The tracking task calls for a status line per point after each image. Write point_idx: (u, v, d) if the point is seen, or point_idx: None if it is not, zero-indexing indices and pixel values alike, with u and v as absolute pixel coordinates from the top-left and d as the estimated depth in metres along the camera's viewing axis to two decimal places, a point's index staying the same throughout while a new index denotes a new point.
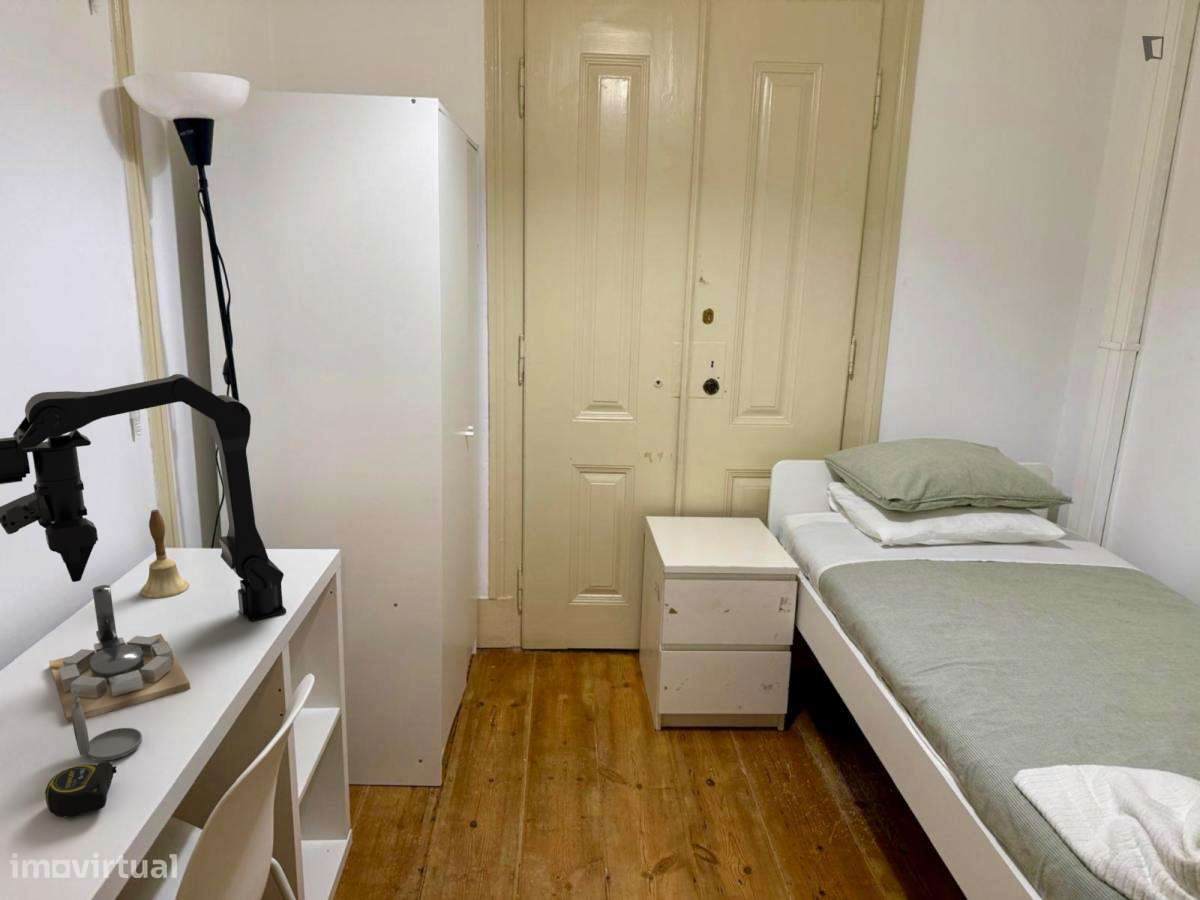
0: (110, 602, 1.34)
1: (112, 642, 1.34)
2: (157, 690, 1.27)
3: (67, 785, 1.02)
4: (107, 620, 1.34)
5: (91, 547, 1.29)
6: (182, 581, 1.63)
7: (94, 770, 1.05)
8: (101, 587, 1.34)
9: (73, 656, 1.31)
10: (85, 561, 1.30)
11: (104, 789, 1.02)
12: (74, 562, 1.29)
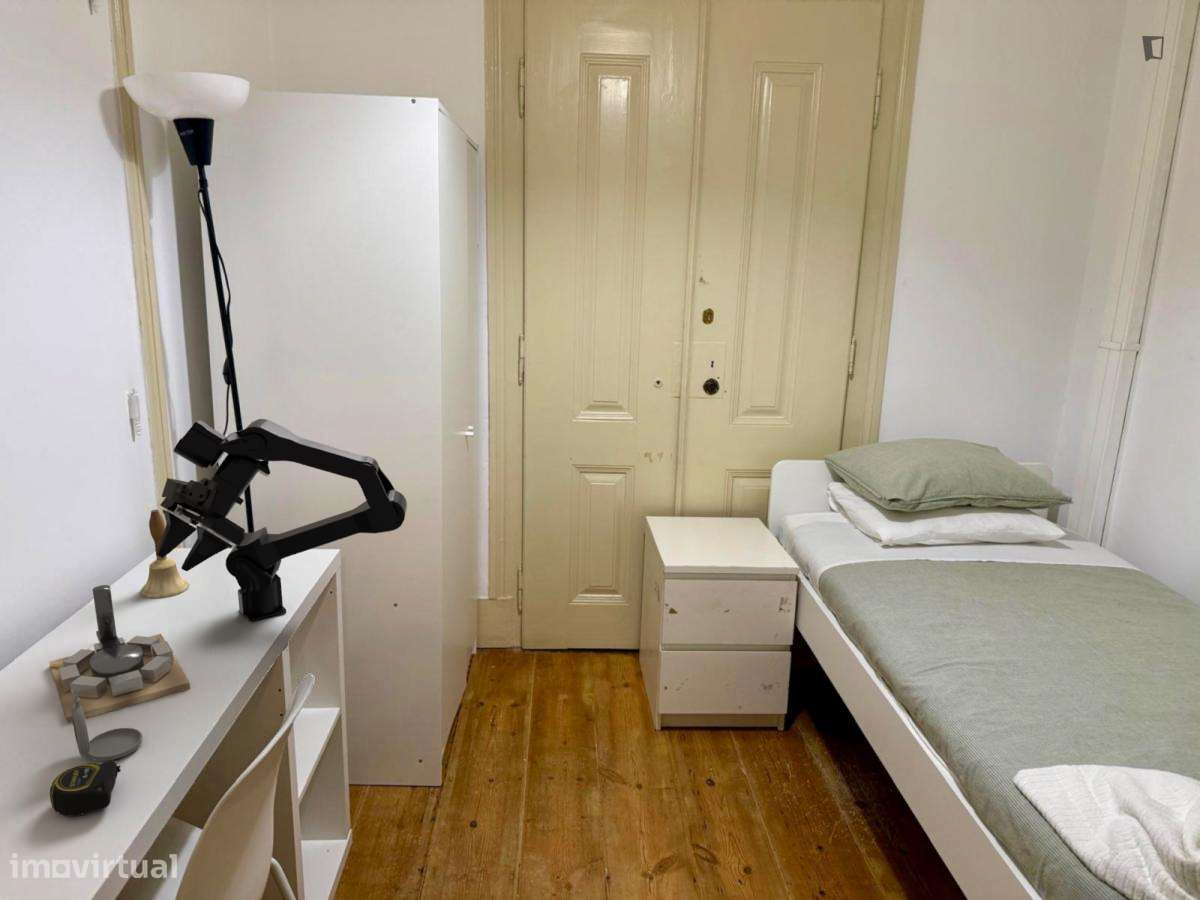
0: (110, 602, 1.34)
1: (112, 642, 1.34)
2: (157, 690, 1.27)
3: (71, 783, 1.02)
4: (107, 620, 1.34)
5: (222, 549, 1.41)
6: (182, 581, 1.63)
7: (98, 769, 1.05)
8: (101, 587, 1.34)
9: (73, 656, 1.31)
10: (206, 558, 1.40)
11: (108, 788, 1.03)
12: (200, 553, 1.39)
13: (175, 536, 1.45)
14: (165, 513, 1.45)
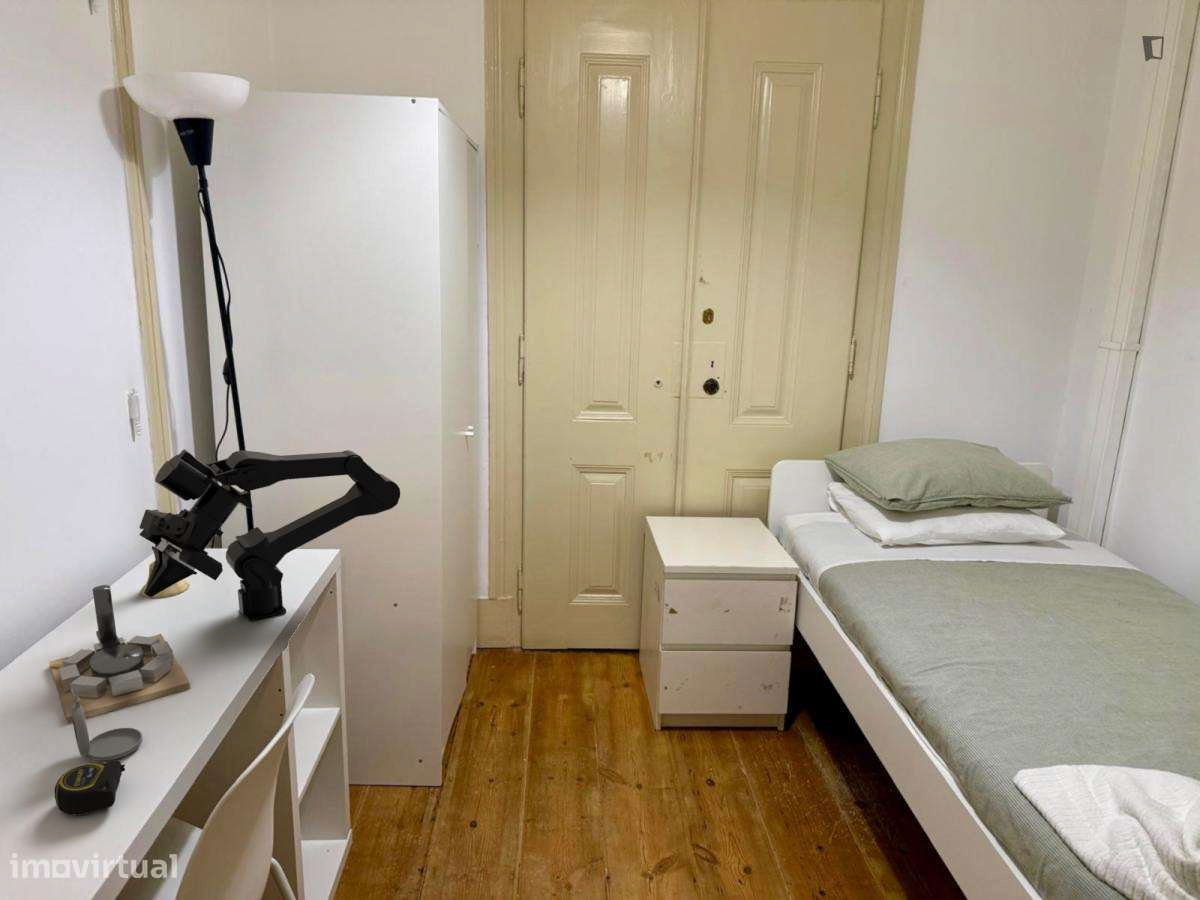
0: (110, 602, 1.34)
1: (112, 642, 1.34)
2: (157, 690, 1.27)
3: (76, 783, 1.02)
4: (107, 620, 1.34)
5: (187, 576, 1.42)
6: (182, 581, 1.63)
7: (103, 769, 1.05)
8: (101, 587, 1.34)
9: (73, 656, 1.31)
10: (171, 584, 1.41)
11: (113, 787, 1.03)
12: (164, 579, 1.40)
13: None
14: (154, 550, 1.41)
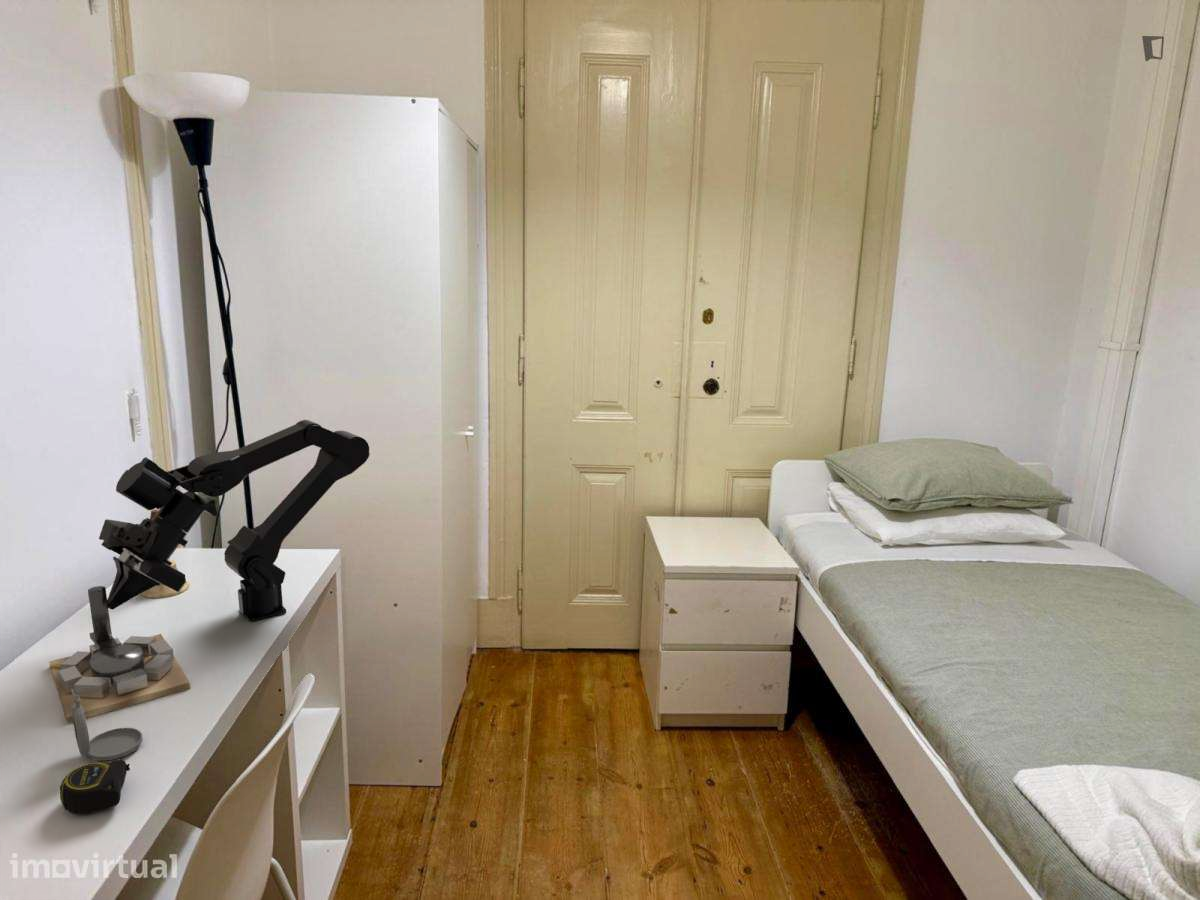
0: (106, 603, 1.34)
1: (109, 642, 1.34)
2: (157, 690, 1.27)
3: (81, 782, 1.02)
4: (103, 621, 1.33)
5: (150, 587, 1.37)
6: None
7: (108, 768, 1.05)
8: (96, 588, 1.33)
9: (70, 658, 1.30)
10: (133, 595, 1.36)
11: (118, 786, 1.03)
12: (126, 591, 1.35)
13: None
14: (115, 561, 1.36)
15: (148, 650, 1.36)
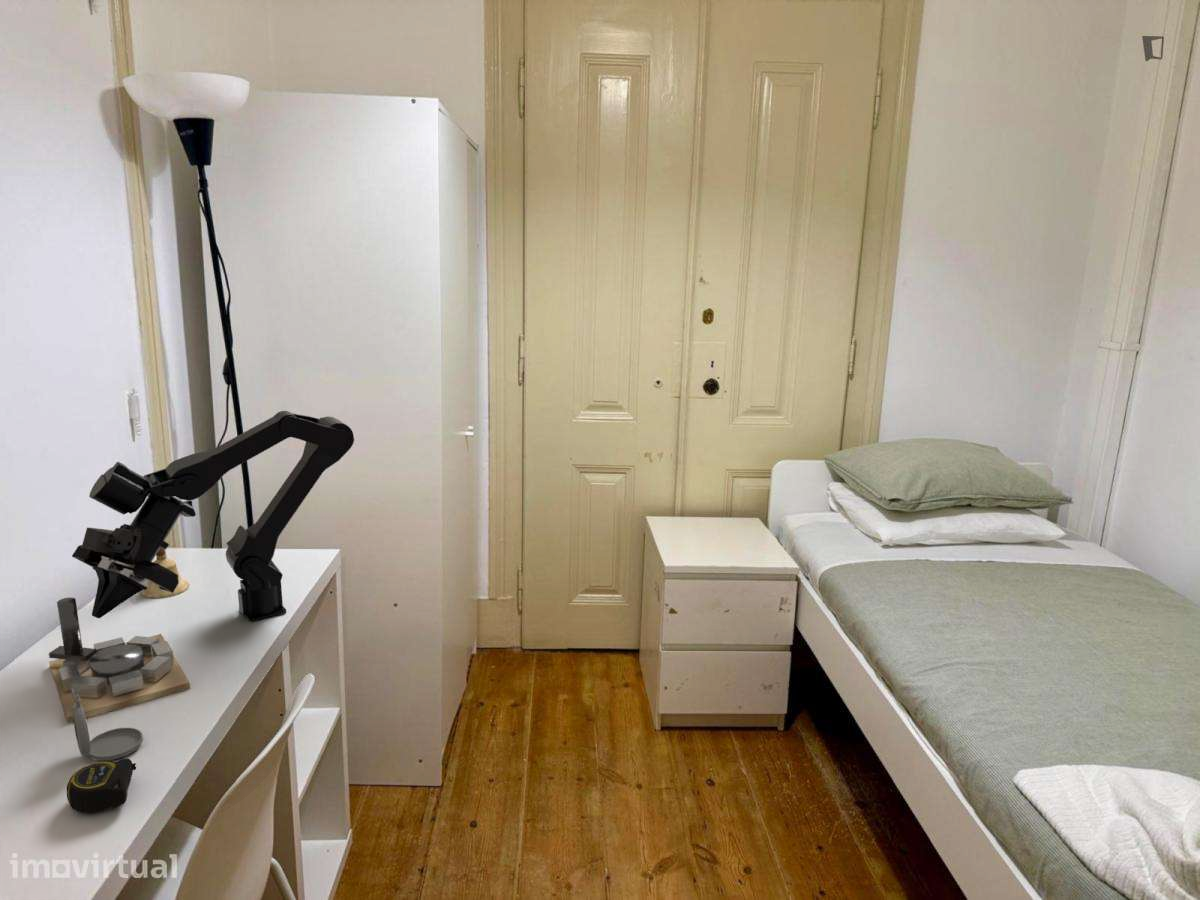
0: None
1: (88, 651, 1.31)
2: (157, 690, 1.27)
3: (88, 781, 1.03)
4: (78, 631, 1.30)
5: (136, 592, 1.36)
6: (182, 581, 1.63)
7: (114, 767, 1.05)
8: (64, 600, 1.29)
9: (64, 674, 1.26)
10: (119, 602, 1.35)
11: (125, 785, 1.03)
12: (113, 598, 1.34)
13: None
14: (97, 569, 1.35)
15: None
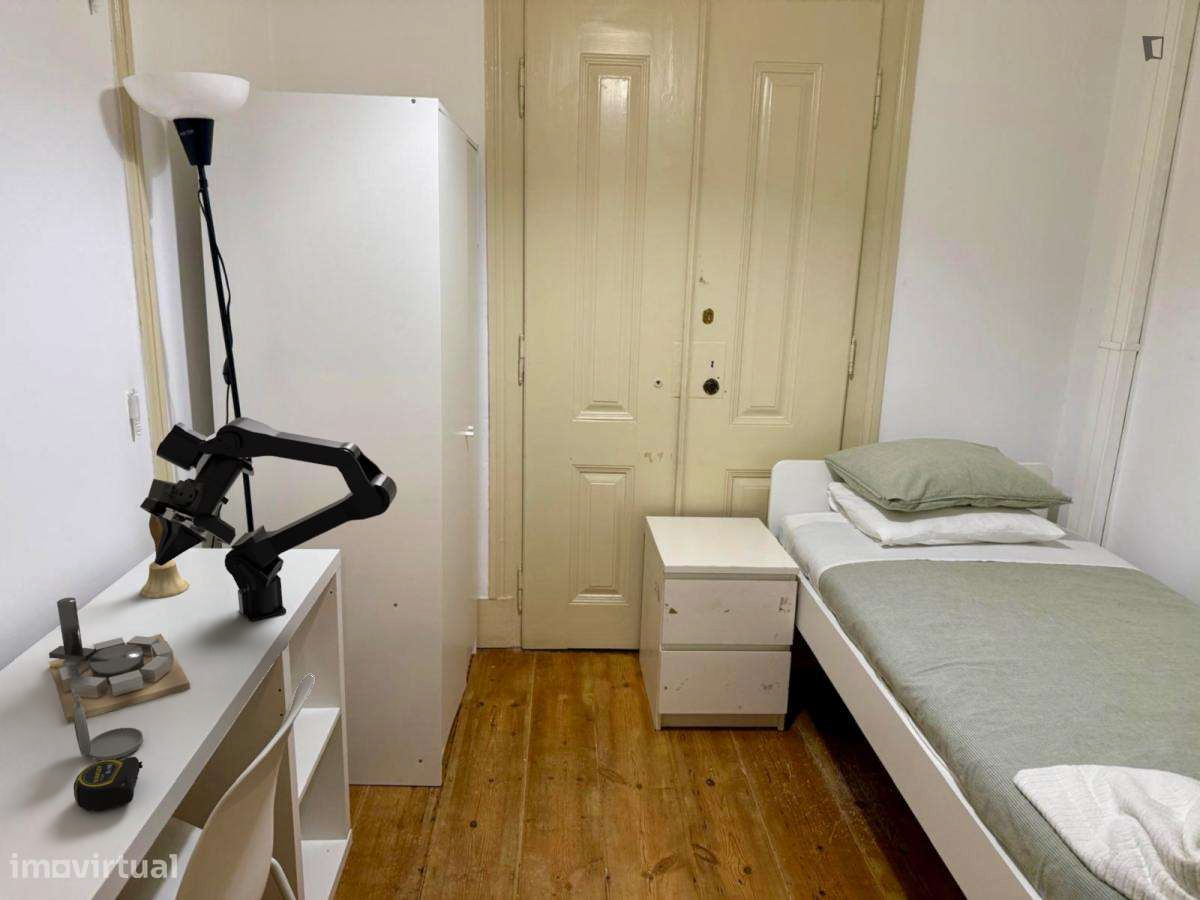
0: None
1: (88, 651, 1.31)
2: (157, 690, 1.27)
3: (95, 779, 1.03)
4: (78, 631, 1.30)
5: (196, 543, 1.43)
6: (182, 581, 1.63)
7: (121, 765, 1.06)
8: (64, 600, 1.29)
9: (64, 674, 1.26)
10: (180, 552, 1.42)
11: (131, 784, 1.04)
12: (175, 547, 1.41)
13: None
14: (161, 519, 1.42)
15: None
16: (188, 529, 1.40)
